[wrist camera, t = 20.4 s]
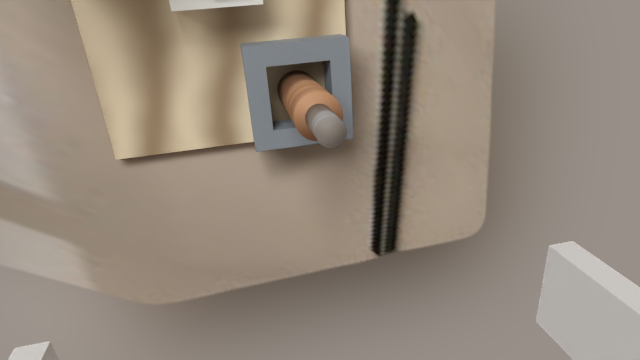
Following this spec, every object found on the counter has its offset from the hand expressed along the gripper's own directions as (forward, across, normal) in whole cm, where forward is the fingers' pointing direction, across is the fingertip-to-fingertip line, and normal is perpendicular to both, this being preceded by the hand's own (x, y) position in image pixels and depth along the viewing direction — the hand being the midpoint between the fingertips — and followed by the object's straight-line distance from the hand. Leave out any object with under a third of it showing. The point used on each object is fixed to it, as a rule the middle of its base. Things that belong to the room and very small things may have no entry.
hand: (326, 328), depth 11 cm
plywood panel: (+32, -2, +4) cm, 32 cm away
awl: (+31, +4, 0) cm, 31 cm away
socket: (+31, +4, 0) cm, 31 cm away
